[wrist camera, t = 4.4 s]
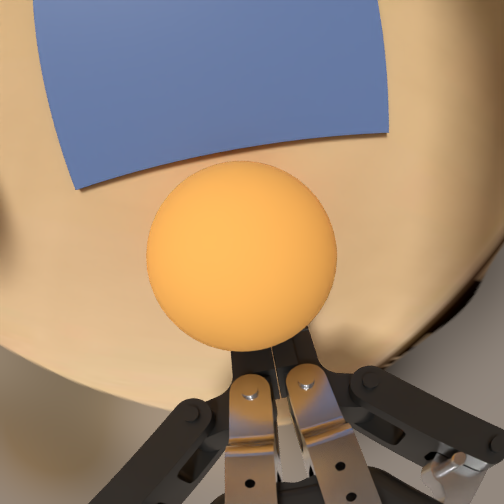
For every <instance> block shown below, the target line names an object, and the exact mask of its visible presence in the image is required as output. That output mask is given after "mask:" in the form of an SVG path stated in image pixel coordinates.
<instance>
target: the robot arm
mask: <svg viewBox="0 0 504 504" xmlns="http://www.w3.org/2000/svg"><path fill="white" fill-rule="evenodd" d="M272 350H273V355H274V361H275V366H276V371H277V376H278V381H279V386H280V392H281V397H282V398H285V397H287V400H288V405H289V410H290V416H291V419H292V423H293V426H294V429H295V433H296V436H297V439H298V443H299V446H300V449H301V453H302V457H303V461H304V465H305V469H306V472H307V476H308V478H306V479H304V480H302V481H300V482H296V483H288V482H283V477H282V467H281V460H280V450H279V437H278V425H277V407H276V402H275V399H280V395H279V390H278V384H277V378H276V373H275V367H274V362H273V357H272V352H271V347H269V348H266V349H262V350H256V351H244V352H241V351H231V359H232V372H233V379H232V383H231V385H230V387H229V388H228V390H227V391H226V392H224V393H223V394H222V395H220V396H218V397H216V398H213V399H211V400H209V401H206V402H204V401H203V400H200V399H195V398H192V399H187V400H184V401H182V402H181V403H179V404H178V405H177V406H176V408H175V409H174V410H173V411H172V412H171V413H170V415H169V416H168V417H167V418H166V420H164V422H163V423H162V424H161V425H160V426H159V427H158V428H157V430H156V431H155V432H154V433H153V434H152V435H151V436H150V438H149V439H148V440H147V441H146V442H145V443H144V444H143V446H142V447H141V448H140V449H139V450H138V451H137V452H136V453H135V454H134V455H133V457H132V458H131V459H130V460H129V461H128V462H127V463H126V464H125V465H124V466H123V468H122V469H121V470H120V471H119V472H118V473H117V474H116V475H115V476H114V478H112V479H111V481H110V482H109V483H108V484H107V485H106V486H105V487H104V488H103V489H102V490H101V491H100V492H99V493H98V494H97V495H96V496H95V497H94V498H93V499H92V500H91V502H90V503H89V504H182V503H183V501H184V500H185V499H186V498H187V497H188V496H189V495H190V493H191V492H192V491H193V490H194V489H195V487H196V486H197V485H198V483H200V481H201V480H202V479H203V478H204V476H205V475H206V474H207V472H208V471H209V470H210V469H211V468H212V466H213V465H214V464H215V462H216V461H217V460H218V459H219V457H220V456H221V455H222V453H223V452H224V451H225V493H224V494H222V495H220V496H219V497H217V498H216V499H215V500H214V501H213V502H212V503H211V504H470V502H471V501H472V499H473V497H474V495H475V493H476V492H477V490H478V488H479V486H480V484H481V482H482V480H483V478H484V476H485V474H486V472H487V470H488V468H490V467H492V466H494V465H495V464H497V463H499V462H501V461H502V460H503V459H504V430H503V429H501V428H499V427H497V426H494V425H492V424H490V423H488V422H486V421H484V420H482V419H480V418H477V417H475V416H473V415H471V414H469V413H467V412H465V411H463V410H461V409H459V408H457V407H455V406H453V405H451V404H449V403H446V402H444V401H442V400H440V399H438V398H436V397H434V396H432V395H430V394H428V393H426V392H425V391H423V390H421V389H419V388H417V387H415V386H413V385H411V384H409V383H407V382H405V381H403V380H401V379H399V378H398V377H396V376H394V375H392V374H390V373H388V372H386V371H384V370H382V369H381V368H378V367H375V366H365V367H362V368H360V369H358V370H357V371H356V372H355V373H354V374H344V373H334V372H331V371H328V370H327V369H325V368H324V367H323V366H322V365H321V364H320V362H319V360H318V358H317V355H316V351H315V348H314V345H313V342H312V339H311V335H310V332H309V330H308V326H306V327H305V328H304V329H303V330H301V331H300V332H299V333H297V334H296V335H295V336H293V337H292V338H290V339H288V340H286V341H284V342H282V343H280V344H277V345H275V346H272ZM352 428H354V429H355V430H357V431H359V432H360V433H362V434H364V435H365V436H367V437H369V438H370V439H372V440H374V441H375V442H377V443H379V444H381V445H382V446H384V447H386V448H388V449H390V450H392V451H393V452H395V453H397V454H399V455H401V456H403V457H405V458H406V459H408V460H410V461H412V462H414V463H416V464H418V465H420V466H422V467H423V468H422V470H421V479H422V482H423V483H424V484H425V486H427V487H428V488H430V490H431V491H432V493H433V498H432V497H430V496H428V495H426V494H424V493H422V492H420V491H419V490H417V489H415V488H413V487H412V486H410V485H408V484H406V483H404V482H403V481H401V480H399V479H398V478H396V477H394V476H392V475H391V474H389V473H387V472H386V471H383V470H381V469H379V468H375V467H370V466H367V464H366V461H365V459H364V456H363V454H362V451H361V449H360V446H359V444H358V441H357V439H356V436H355V434H354V431H353V429H352Z"/></svg>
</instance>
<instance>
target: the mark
mask: <svg viewBox="0 0 504 504" xmlns="http://www.w3.org/2000/svg"><path fill="white" fill-rule="evenodd" d="M33 8H34V20H35V30H36V38H37V46H38V52H39V58H40V64H41V70H42V75H43V80H44V85H45V89H46V94H47V98H48V102H49V107H50V111H51V114H52V118H53V122H54V126H55V129H56V133H57V136H58V139H59V143H60V146H61V149H62V152H63V155H64V158H65V161H66V164H67V167H68V170H69V173H70V176H71V179H72V182H73V184H74V187H75V190H77V189H80V188H83V187H86V186H89V185H92V184H96V183H99V182H102V181H105V180H109V179H112V178H115V177H119V176H122V175H126V174H129V173H133V172H136V171H140V170H144V169H148V168H151V167H155V166H159V165H163V164H167V163H172V162H176V161H180V160H185V159H189V158H194V157H198V156H203V155H208V154H213V153H218V152H223V151H228V150H234V149H240V148H245V147H251V146H258V145H264V144H271V143H278V142H285V141H293V140H301V139H310V138H319V137H329V136H341V135H354V134H370V133H389V114H388V88H387V73H386V61H385V50H384V41H383V33H382V26H381V19H380V13H379V7H378V1H377V0H33Z"/></svg>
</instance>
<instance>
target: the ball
mask: <svg viewBox="0 0 504 504" xmlns="http://www.w3.org/2000/svg"><path fill="white" fill-rule="evenodd" d="M146 259H147V271H148V276H149V280H150V284H151V286H152V289H153V292H154V294H155V297H156V299H157V301H158V302H159V304H160V306H161V308H162V309H163V311H164V312H165V313H166V315H167V316H168V317H169V318H170V319H171V320H172V321H173V322H174V324H175V325H176V326H178V327H179V328H180V329H181V330H182V331H183V332H185V333H186V334H187V335H189V336H190V337H192V338H193V339H195V340H197V341H199V342H201V343H203V344H206V345H208V346H211V347H214V348H218V349H222V350H227V351H241V352H244V351H256V350H262V349H266V348H269V347H272V346H275V345H277V344H280V343H282V342H284V341H286V340H288V339H290V338H292V337H293V336H295V335H296V334H297V333H299V332H300V331H301V330H303V329H304V328H305V327H306V326H307V325H308V324H309V323H310V322H311V321H312V320H313V319H314V317H315V316H316V315H317V314H318V313H319V311H320V310H321V308H322V306H323V305H324V303H325V301H326V300H327V298H328V295H329V293H330V290H331V288H332V285H333V281H334V277H335V272H336V263H337V248H336V241H335V236H334V232H333V229H332V226H331V223H330V220H329V218H328V216H327V214H326V212H325V210H324V208H323V206H322V205H321V203H320V202H319V200H318V199H317V197H316V196H315V195H314V194H313V193H312V192H311V191H310V190H309V189H308V187H306V186H305V185H304V184H303V183H302V182H300V181H299V180H298V179H297V178H295V177H293V176H292V175H290V174H289V173H287V172H285V171H283V170H280V169H278V168H276V167H273V166H270V165H266V164H263V163H258V162H250V161H232V162H225V163H220V164H216V165H213V166H210V167H208V168H205V169H202V170H200V171H198V172H197V173H195V174H193V175H191V176H190V177H188V178H187V179H186V180H184V181H183V182H182V183H180V184H179V185H178V186H177V187H176V188H175V189H174V190H173V191H172V192H171V193H170V194H169V195H168V197H167V198H166V199H165V201H164V202H163V204H162V205H161V207H160V208H159V210H158V212H157V214H156V216H155V218H154V221H153V224H152V226H151V229H150V233H149V237H148V242H147V253H146Z"/></svg>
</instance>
